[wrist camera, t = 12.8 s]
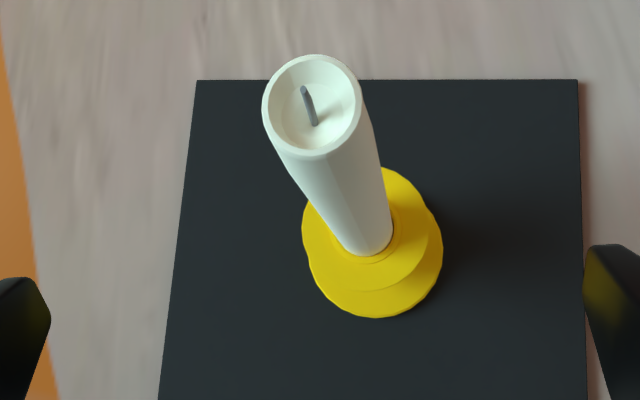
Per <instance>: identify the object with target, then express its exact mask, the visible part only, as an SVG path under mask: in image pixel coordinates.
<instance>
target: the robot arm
mask: <svg viewBox="0 0 640 400" xmlns="http://www.w3.org/2000/svg"><path fill="white" fill-rule="evenodd" d="M582 299H583V304H584V307H585V311H586V315H587V318H588V322H589V325H590V329H591V332H592V336H593V339H594V343H595V346H596V350H597V353H598V357H599V360H600V364H601V367H602V371H603V374H604V378H605V381H606V385H607V388H608V391H609V394H610V397H611V400H640V256H639V255H637V254H635V253H634V252H632V251H631V250H629V249H627V248H626V247H624V246H622V245H619V244H606V245H593V246H591V247H590V248H589V250H588V252H587V256H586V263H585V270H584V277H583V284H582ZM50 325H51V314H50V311H49V309H48V307H47V305H46V303H45V301H44V299H43V297H42V295H41V293H40V291H39V289H38V288H37V286H36V284H35V282H34V281H33V280H32V279H30V278H28V277H14V278H6V279H3V280H1V281H0V400H25V397H26V394H27V392H28V389H29V385H30V383H31V380H32V377H33V374H34V372H35V369H36V366H37V363H38V360H39V357H40V354H41V352H42V349H43V346H44V343H45V340H46V337H47V335H48V332H49V329H50Z"/></svg>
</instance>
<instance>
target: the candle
mask: <svg viewBox="0 0 640 400" xmlns="http://www.w3.org/2000/svg"><path fill="white" fill-rule="evenodd" d="M261 112H262V118H263V124H264V127H265V130H266V132H267V134H268V136H269V139H270V140H271V142H272V144H273V146H274V148H275V149H276V151H277V153H278V155H279V156H280V158H281V160H282V162H283V164H284V165H285V167H286V169H287V171H288V172H289V174H290V175H291V176H292V178H293V179H294V181H295V182H296V183H297V185H298V186H299V187H300V189H301V190H302V191H303V193H304V194H305V195H306V197H307V198H308V200H309V201H308V203H307V205H306V208H305V210H304V213H303V220H302V227H301V229H302V238H303V245H304V247H305V250H306V252H307V255H308V258H309V266H310V269H311V272H312V274H313V277H314V279H315V282H316V284H317V285H318V287H319V288H320V289H321V291H322V292H323V293H324V295H325V296H326V297H327V298H328V299H329V300H330V301H332V302H333V303H334V304H335V305H337V306H338V307H339V308H340V309H343V310H345V311H347V312H350V313H352V314H354V315H357V316H362V317H369V318H383V317H390V316H395V315H397V314H400V313H402V312H405V311H407V310H409V309H411V308H412V307H414V306H415V305H416V304H417V303H419V302H420V301H421V300H422V299H424V298H425V296H426V295H427V294H428V292H429V291H430V290H431V288H432V287H433V285H434V284H435V282H436V280H437V277H438V274H439V272H440V269H441V266H442V257H443V243H442V238H441V232H440V229H439V227H438V225H437V223H436V221H435V218H434V216H433V214H432V213H431V212H430V211H429V210H428V208H427V207H426V206H425V204H424V201H423V199H422V197H421V195H420V193H419V192H418V191H417V190H416V189H415V187H414V186H413V185H412V184H411V183H410V182H409V181H408V180H407V179H405V178H404V177H402V176H401V175H399V174H398V173H396V172H394V171H392V170H389V169H386V168H383V167H381V166H380V161H379V156H378V151H377V147H376V142H375V137H374V132H373V127H372V124H371V121H370V118H369V115H368V112H367V109H366V106H365V104H364V101H363V96H362V90H361V87H360V85H359V82H358V80H357V78H356V76H355V75H354V74H353V72H352V71H351V70H350V69H349V68H348V67H347V66H346V65H345V64H343V63H342V62H340V61H339V60H337V59H335V58H332V57H329V56H325V55H312V54H310V55H306V56H301V57H297V58H295V59H293V60H292V61H290V62H288V63H286V64H285V65H284V66H282V67H281V68H280V69H279V70H278V71H277V72H276V73H275V74H274V75H273V77H272V78H271V80H270V81H269V83H268V84H267V86H266V89H265V92H264V95H263V98H262V108H261Z"/></svg>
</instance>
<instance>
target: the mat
mask: <svg viewBox="0 0 640 400" xmlns="http://www.w3.org/2000/svg"><path fill="white" fill-rule="evenodd" d="M269 81H270V80H197V83H196V91H195V99H194V107H193V115H192V123H191V132H190V140H189V148H188V156H187V164H186V172H185V181H184V189H183V197H182V205H181V213H180V221H179V230H178V238H177V246H176V254H175V262H174V270H173V278H172V287H171V295H170V303H169V311H168V319H167V327H166V336H165V344H164V352H163V360H162V368H161V376H160V384H159V393H158V400H588V395H587V363H586V331H585V307H584V304H583V299H582V284H583V277H584V267H583V236H582V204H581V172H580V140H579V108H578V80H577V79H542V80H358V82H359V85H360V87H361V90H362V96H363V101H364V104H365V106H366V109H367V112H368V115H369V118H370V121H371V124H372V127H373V132H374V137H375V142H376V147H377V151H378V156H379V161H380V166H381V167H383V168H386V169H389V170H392V171H394V172H396V173H398V174H399V175H401V176H402V177H404V178H405V179H407V180H408V181H409V182H410V183H411V184H412V185H413V186H414V187H415V189H416V190H417V191H418V192H419V193H420V195H421V197H422V199H423V201H424V204H425V206H426V207H427V208H428V210H429V211H430V212H431V213H432V214H433V216H434V218H435V221H436V223H437V225H438V227H439V229H440V232H441V238H442V243H443V257H442V266H441V269H440V272H439V274H438V277H437V280H436V282H435V284H434V285H433V287H432V288H431V290H430V291H429V292H428V294H427V295H426V296H425V298H424V299H422V300H421V301H420V302H419V303H417V304H416V305H415V306H414V307H412V308H411V309H409V310H407V311H405V312H402V313H400V314H397V315H395V316H390V317H383V318H369V317H362V316H357V315H354V314H352V313H350V312H347V311H345V310H343V309H340V308H339V307H338V306H337V305H335V304H334V303H333V302H332V301H330V300H329V299H328V298H327V297H326V296H325V295H324V293H323V292H322V291H321V289H320V288H319V287H318V285H317V284H316V282H315V279H314V277H313V274H312V272H311V269H310V266H309V258H308V255H307V252H306V250H305V247H304V245H303V238H302V229H301V227H302V220H303V213H304V210H305V208H306V205H307V203H308V201H309V200H308V198H307V197H306V195H305V194H304V193H303V191H302V190H301V189H300V187H299V186H298V185H297V183H296V182H295V181H294V179H293V178H292V176H291V175H290V174H289V172H288V171H287V169H286V167H285V165H284V164H283V162H282V160H281V158H280V156H279V155H278V153H277V151H276V149H275V148H274V146H273V144H272V142H271V140H270V139H269V136H268V134H267V132H266V130H265V127H264V124H263V118H262V112H261V108H262V98H263V95H264V92H265V89H266V86H267V84H268V83H269Z"/></svg>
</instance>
